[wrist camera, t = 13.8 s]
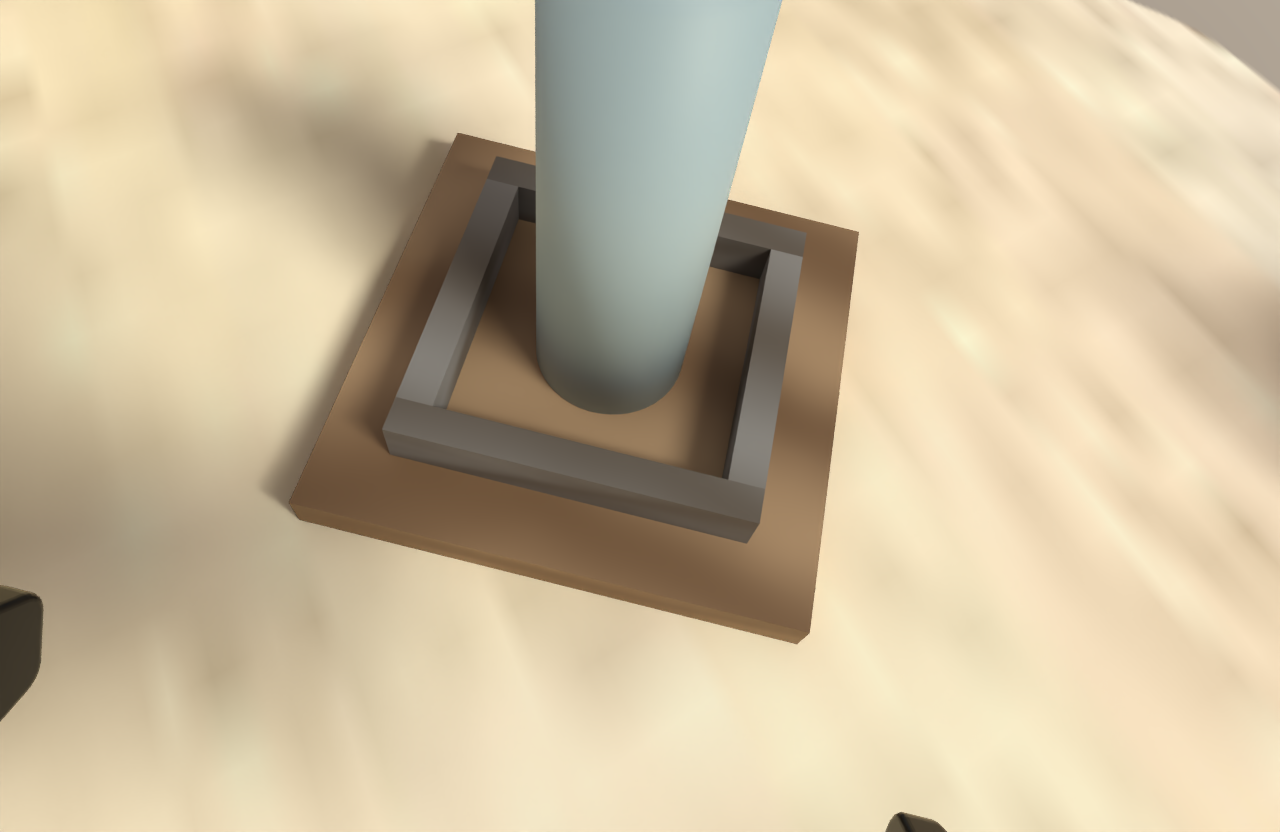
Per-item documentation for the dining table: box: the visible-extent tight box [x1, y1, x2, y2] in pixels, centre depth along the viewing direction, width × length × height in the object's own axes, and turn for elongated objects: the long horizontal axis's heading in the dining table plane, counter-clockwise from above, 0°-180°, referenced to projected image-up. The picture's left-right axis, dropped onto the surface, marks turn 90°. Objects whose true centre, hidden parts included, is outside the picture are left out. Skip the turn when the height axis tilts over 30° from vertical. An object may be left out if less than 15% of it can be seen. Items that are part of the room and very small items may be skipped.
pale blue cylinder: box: [535, 0, 782, 415], centre depth 20 cm, size 4×4×13 cm
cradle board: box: [289, 133, 859, 644], centre depth 26 cm, size 14×14×3 cm
